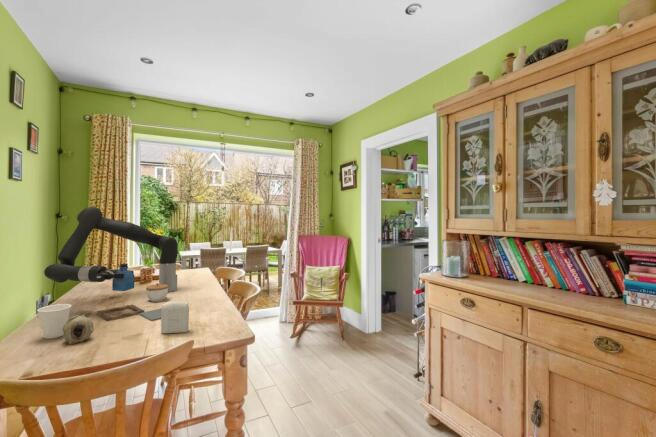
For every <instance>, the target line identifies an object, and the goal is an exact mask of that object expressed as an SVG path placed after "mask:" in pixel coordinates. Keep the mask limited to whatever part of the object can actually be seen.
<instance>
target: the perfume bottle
mask: <svg viewBox="0 0 656 437" xmlns="http://www.w3.org/2000/svg"><path fill="white" fill-rule="evenodd" d="M118 269H120V271H117V272H116V273H121V274H124V278H122V279H118V278H115V279H111V280H112V283H111V284H112V286H111V287H112V291H114V292H115V291H116V292H118V291H119V292H126V291H129V290H133V289H135V274H133V273H132V271H133V270H130V269H129V266H128V263H119V268H118ZM128 269H129V270H128ZM116 273H115V274H116Z"/></svg>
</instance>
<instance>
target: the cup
mask: <svg viewBox="0 0 656 437" xmlns="http://www.w3.org/2000/svg"><path fill="white" fill-rule="evenodd" d="M71 308H72V304H69V303H58V304H52V305H46V306H42V307H39V308H38V309H37V310H36V311H37V312H38V317H39V321H40V325H41V330H42V336H43V338H45V339H48V340H49V339H51V340H53V339H58V338H60V337H63V330H62V328H63V326H64V324H65V323H66V322H67V320H68V319H69V316H70V312H71Z"/></svg>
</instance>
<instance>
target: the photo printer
mask: <svg viewBox="0 0 656 437" xmlns="http://www.w3.org/2000/svg"><path fill="white" fill-rule="evenodd" d="M161 308H162V309H161ZM161 308H160V309H161V319H160V333H161V334H173V333H174V334H176V333H177V334H178V333H187V332H188V331H189V328H190V327H189V322H190V321H189V320H190V305H189V303H188V302H186V301H182V300H180V301H179V300H173V301H168V302H167V301H166V302H164V303H163V304H162V305H161Z"/></svg>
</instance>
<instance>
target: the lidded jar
mask: <svg viewBox="0 0 656 437" xmlns="http://www.w3.org/2000/svg"><path fill="white" fill-rule="evenodd" d="M145 289H146V290H145V293H146V297H147V299H148V300H150V302H153V303H155V302H158V303H159V302H162V301H164V300H163V299H165V298H166V297H167V295H168V293H169V292H168V285H166V284H159V282H157V283H156V284H150V285H147V286H146V288H145Z"/></svg>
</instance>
